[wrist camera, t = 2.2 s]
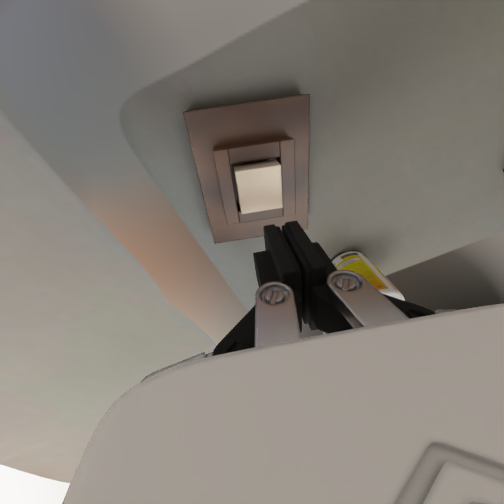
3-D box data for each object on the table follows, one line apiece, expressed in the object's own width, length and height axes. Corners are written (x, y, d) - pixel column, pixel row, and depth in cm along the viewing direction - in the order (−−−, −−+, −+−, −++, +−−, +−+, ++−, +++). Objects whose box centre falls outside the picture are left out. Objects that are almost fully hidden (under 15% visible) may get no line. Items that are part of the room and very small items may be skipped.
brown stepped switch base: (186, 110, 20) (179, 113, 17) (301, 94, 20) (318, 93, 17) (215, 233, 27) (214, 253, 23) (301, 219, 27) (313, 236, 24)
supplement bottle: (318, 277, 32) (353, 342, 23) (340, 244, 29) (390, 303, 21) (350, 286, 34) (395, 350, 25) (375, 255, 31) (433, 315, 23)
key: (233, 166, 19) (234, 171, 18) (276, 159, 20) (281, 164, 18) (239, 206, 21) (241, 214, 20) (279, 200, 22) (283, 208, 20)
